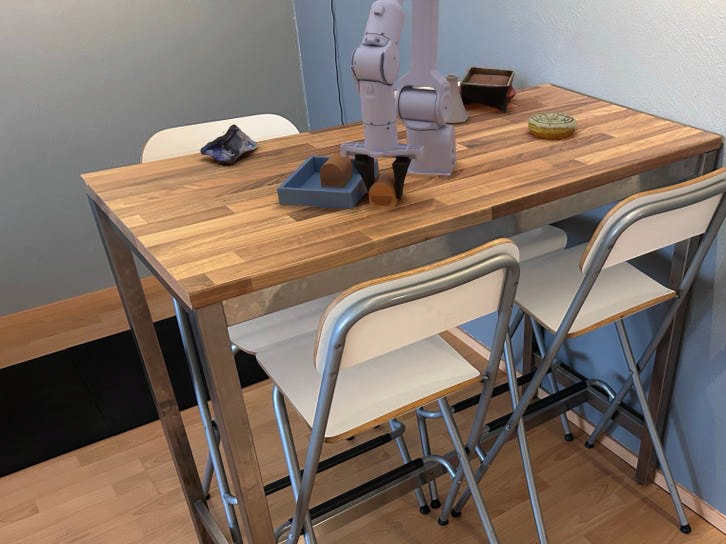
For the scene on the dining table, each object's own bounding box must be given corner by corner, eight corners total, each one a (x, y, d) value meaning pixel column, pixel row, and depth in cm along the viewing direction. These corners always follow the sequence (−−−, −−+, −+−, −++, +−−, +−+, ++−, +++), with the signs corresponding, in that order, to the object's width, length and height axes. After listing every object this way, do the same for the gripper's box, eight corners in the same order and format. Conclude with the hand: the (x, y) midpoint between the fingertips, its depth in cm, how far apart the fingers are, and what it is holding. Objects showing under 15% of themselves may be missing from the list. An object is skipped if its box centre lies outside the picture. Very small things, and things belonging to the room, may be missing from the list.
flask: (467, 124, 171) (467, 79, 166) (436, 124, 172) (435, 79, 166) (468, 114, 177) (468, 71, 172) (438, 115, 178) (437, 71, 172)
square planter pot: (521, 106, 190) (520, 64, 186) (508, 115, 174) (507, 69, 170) (467, 107, 193) (465, 66, 189) (449, 116, 178) (446, 71, 173)
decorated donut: (585, 135, 164) (587, 118, 162) (547, 144, 160) (548, 126, 157) (556, 123, 172) (557, 106, 169) (519, 131, 167) (519, 114, 164)
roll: (353, 176, 143) (350, 153, 140) (343, 187, 138) (341, 164, 136) (331, 175, 144) (328, 151, 141) (321, 186, 139) (318, 162, 136)
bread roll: (402, 196, 136) (400, 172, 133) (394, 209, 131) (392, 184, 128) (379, 194, 137) (377, 170, 134) (370, 207, 132) (367, 182, 129)
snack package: (272, 158, 154) (253, 141, 161) (262, 129, 149) (243, 113, 157) (217, 179, 150) (201, 161, 157) (205, 150, 145) (189, 132, 153)
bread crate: (379, 176, 144) (377, 158, 142) (353, 212, 130) (350, 192, 128) (312, 173, 146) (310, 155, 144) (279, 207, 132) (276, 188, 130)
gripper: (331, 125, 123) (340, 202, 131) (415, 129, 121) (420, 207, 129) (344, 113, 129) (352, 187, 137) (425, 117, 127) (428, 192, 135)
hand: (385, 196), depth 133 cm, fingers closed on bread roll, 4 cm apart
